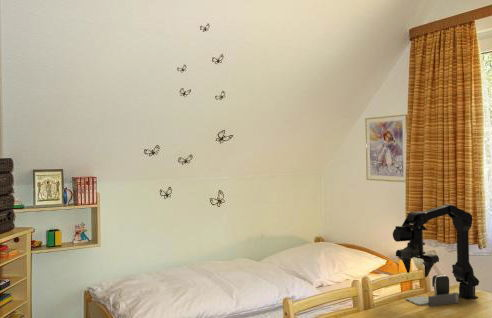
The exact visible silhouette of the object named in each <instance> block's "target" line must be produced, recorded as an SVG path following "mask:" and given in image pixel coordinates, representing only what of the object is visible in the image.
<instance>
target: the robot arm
mask: <svg viewBox="0 0 492 318" xmlns="http://www.w3.org/2000/svg"><path fill="white" fill-rule="evenodd" d="M446 215H447V217H448V218H451V220H452V225H453V226H454V228H455V230H456V231H455V232H456V262H455V263H454V264H451V266H452V271H451V272H452V274H453V277H454V278H455V280H456V282H457V283H458V284H459V287H458V297H460V298H464V299H466V300H472V299H473V300H474V299H478V298H479V296H477V295H476V286H479V284H480V280H479V279H478V278H477V277H476V276H475V273H474V268H473V267H472V265H471V263H470V247H469V246H470V244H469V243H470V242H469V232H470V230H471V227H472V226H473V219H474V218H473V215H472V214H471V213H470V212H467V211H465V210H463V209H460V208H458V207H457V206H456V205H454V204H450V203H445V204H443V205H440V206H437V207H434V208H429V209H427V210H423V211H411V212H408V213H407V215H406V218H405V219H404V220H403V221H404V222H403V223H402V224H401V226H399V225H396V226H395V229H394V230H393V231H392V238H393V240H394V241H395V242H397V243H398V242H407V244H406V247H403V248H401V249H397V250H396V252H395V256H396V257H397V259H399V260H401V261H402V264H403V265H404V268H405V270H406V273H407V274H410V271H411V262H412V259H413V258H416V259H420V260H422V261H423V262H422V265H424V277H425V278H427V277H428V276H429V274H430V272H431V270H432V268H433V266H434V265H435V264H437V263H439V262H440V258H439V255H438V254H434V253H433V254H432V253H429V254H426V251H424V246H425V245H426V243H425V242H424V231H427V230H428V228H427V227H425V224H427V223H428V222H429V221H431V220H434V219H436V218H437V219H438V218H440V217H442V216H446Z"/></svg>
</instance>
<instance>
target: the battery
mask: <svg viewBox="0 0 492 318" xmlns="http://www.w3.org/2000/svg"><path fill="white" fill-rule="evenodd" d="M431 281H432V282H431V285H432V287H433V289H434V295H441V294H449V293H450V278H449V276H448V275H445V274H435V275H433V276H432V280H431Z"/></svg>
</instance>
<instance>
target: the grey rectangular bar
mask: <svg viewBox="0 0 492 318" xmlns="http://www.w3.org/2000/svg"><path fill="white" fill-rule="evenodd" d="M458 294H459V292H449V294H441V295H435V294H434V295H428V297H427V298H429V304H428V306H429V307H433V306H434V307H435V306H443V305H444V306H445V305H451V304H459V296H458Z"/></svg>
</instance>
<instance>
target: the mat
mask: <svg viewBox="0 0 492 318" xmlns="http://www.w3.org/2000/svg"><path fill="white" fill-rule="evenodd" d="M404 299H405V301H407V300H409V301H411V302H410V303H412V302H413V303H412V304H414V303H416V304H418V305H417V306H419V305H421V306H427V304H428V305H429V298H428V297H426V296H423V295H422V296H415V297H413V296H412V297H406V298H404ZM409 301H408V302H409ZM416 304H415V305H416Z"/></svg>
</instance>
